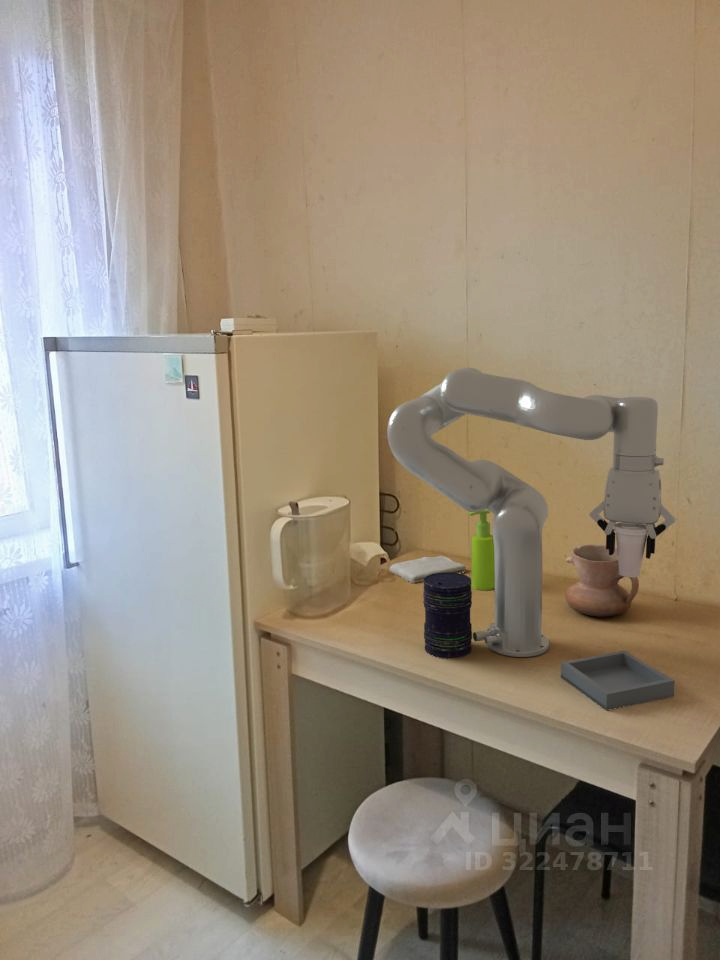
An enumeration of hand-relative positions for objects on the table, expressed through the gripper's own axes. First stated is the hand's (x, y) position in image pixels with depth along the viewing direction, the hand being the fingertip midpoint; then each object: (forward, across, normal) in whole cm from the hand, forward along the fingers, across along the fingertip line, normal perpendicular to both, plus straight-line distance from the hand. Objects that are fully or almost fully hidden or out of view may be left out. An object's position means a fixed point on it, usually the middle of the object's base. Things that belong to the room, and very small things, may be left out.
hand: (629, 554), depth 150 cm
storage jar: (+22, +34, +9) cm, 41 cm away
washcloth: (+22, +55, -38) cm, 70 cm away
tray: (+21, 0, +14) cm, 25 cm away
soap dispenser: (+22, +38, -31) cm, 54 cm away
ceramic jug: (+21, +8, -24) cm, 33 cm away
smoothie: (+4, 0, 0) cm, 4 cm away
